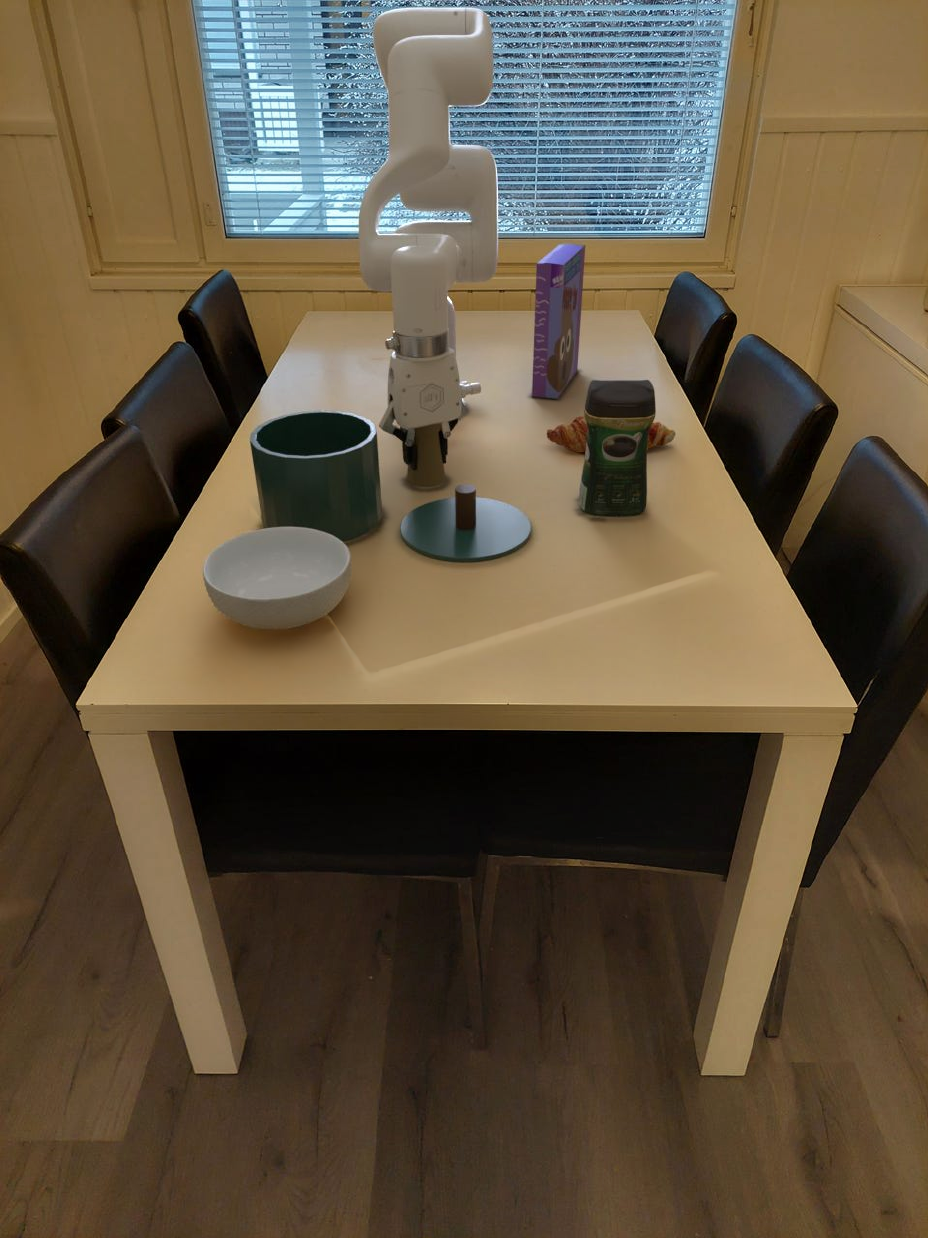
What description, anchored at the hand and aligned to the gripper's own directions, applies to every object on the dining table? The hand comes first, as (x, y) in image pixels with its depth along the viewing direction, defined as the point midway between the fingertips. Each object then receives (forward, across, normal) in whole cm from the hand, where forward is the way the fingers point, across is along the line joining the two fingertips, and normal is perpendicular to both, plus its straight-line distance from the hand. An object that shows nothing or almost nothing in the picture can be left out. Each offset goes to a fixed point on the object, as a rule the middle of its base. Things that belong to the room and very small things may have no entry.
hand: (425, 462), depth 133 cm
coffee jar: (+3, +20, -21) cm, 29 cm away
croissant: (+4, +32, -2) cm, 33 cm away
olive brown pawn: (+3, 0, 0) cm, 3 cm away
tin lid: (+2, -2, -18) cm, 18 cm away
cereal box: (+4, +41, +29) cm, 50 cm away
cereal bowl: (+3, -30, -25) cm, 39 cm away
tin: (+3, -18, -5) cm, 19 cm away
